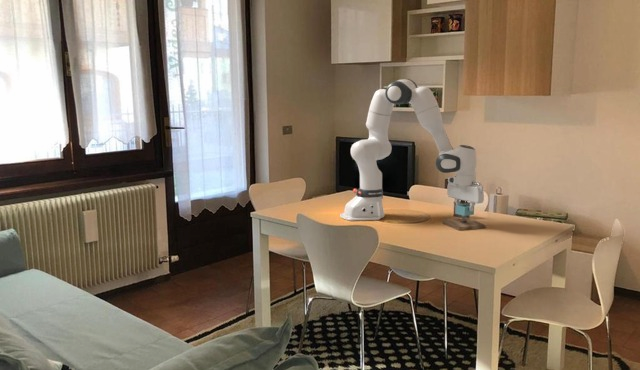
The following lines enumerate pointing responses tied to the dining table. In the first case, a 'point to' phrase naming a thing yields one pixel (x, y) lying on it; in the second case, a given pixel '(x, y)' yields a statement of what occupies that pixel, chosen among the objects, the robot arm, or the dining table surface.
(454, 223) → the post base
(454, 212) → the lighter
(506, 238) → the dining table surface
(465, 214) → the collar
